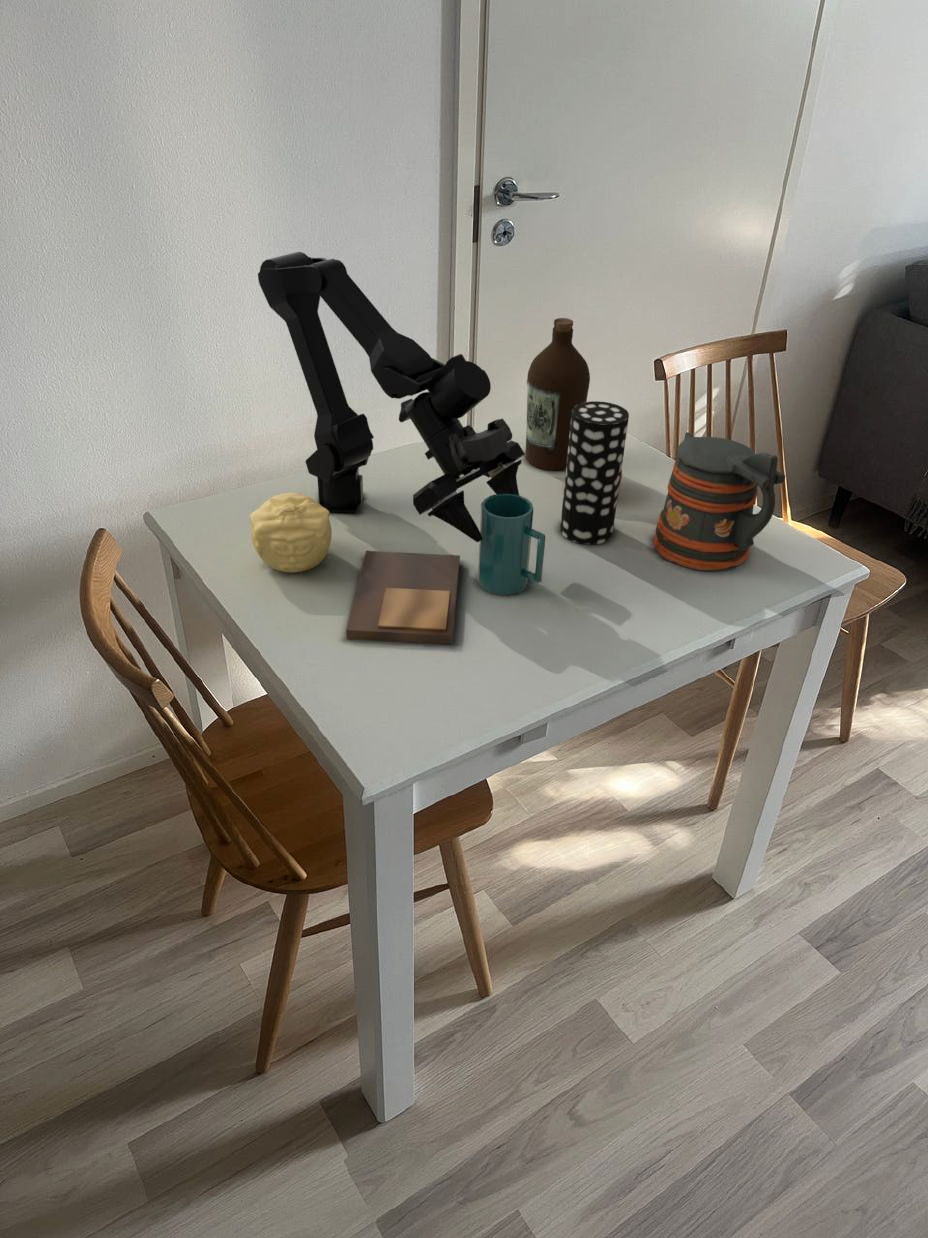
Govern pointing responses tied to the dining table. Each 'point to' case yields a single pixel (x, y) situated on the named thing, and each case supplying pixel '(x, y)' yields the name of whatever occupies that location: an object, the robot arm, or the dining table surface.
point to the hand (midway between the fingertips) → (500, 528)
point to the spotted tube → (593, 471)
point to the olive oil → (554, 398)
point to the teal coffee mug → (508, 544)
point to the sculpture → (291, 532)
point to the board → (405, 598)
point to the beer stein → (715, 503)
